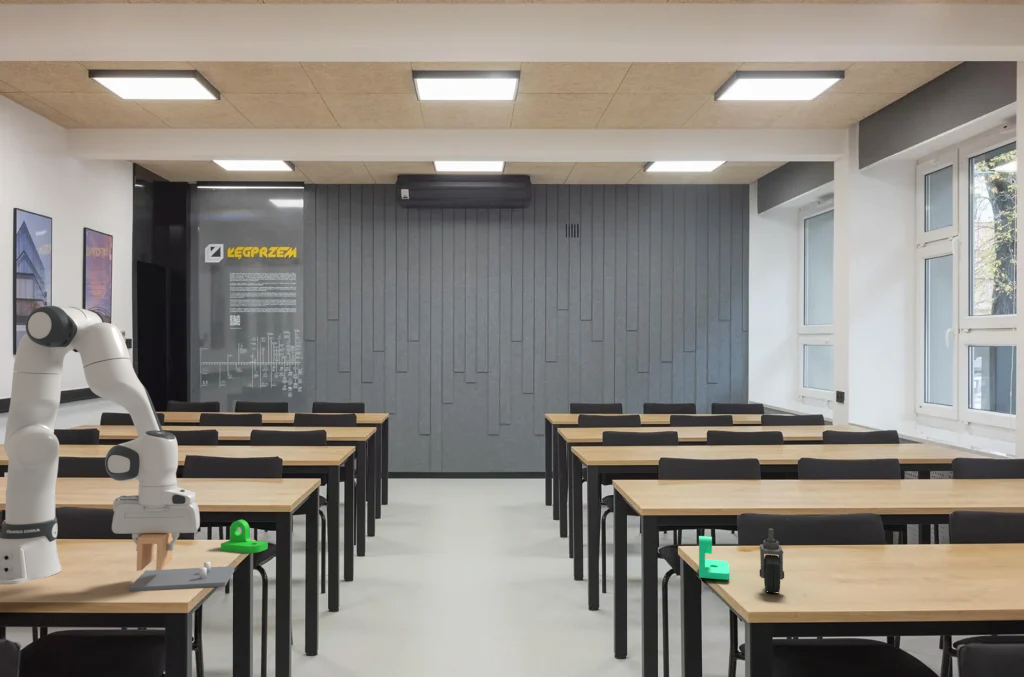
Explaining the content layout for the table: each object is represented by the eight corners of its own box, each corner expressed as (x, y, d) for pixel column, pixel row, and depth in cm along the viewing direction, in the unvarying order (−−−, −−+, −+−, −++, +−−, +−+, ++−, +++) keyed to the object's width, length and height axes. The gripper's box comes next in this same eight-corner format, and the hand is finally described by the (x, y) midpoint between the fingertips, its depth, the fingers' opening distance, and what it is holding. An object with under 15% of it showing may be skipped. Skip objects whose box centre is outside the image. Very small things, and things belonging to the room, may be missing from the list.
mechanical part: (220, 550, 222) (221, 523, 222) (234, 545, 227) (234, 518, 228) (254, 554, 218) (255, 526, 218) (267, 548, 224) (267, 522, 224)
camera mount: (729, 584, 192) (729, 543, 192) (698, 581, 194) (698, 541, 194) (728, 570, 204) (728, 532, 204) (699, 568, 206) (699, 530, 206)
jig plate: (129, 593, 182) (129, 577, 182) (145, 576, 196) (145, 561, 196) (224, 588, 186) (225, 572, 186) (234, 571, 200) (234, 556, 200)
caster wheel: (782, 587, 189) (782, 527, 189) (785, 599, 180) (785, 536, 180) (758, 585, 191) (758, 526, 191) (760, 597, 181) (761, 535, 182)
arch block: (136, 570, 184) (137, 537, 184) (148, 559, 193) (150, 528, 194) (160, 570, 184) (162, 537, 185) (172, 559, 194) (173, 528, 195)
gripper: (109, 497, 185) (106, 554, 184) (196, 497, 188) (194, 553, 188) (117, 493, 191) (115, 547, 190) (202, 493, 194) (200, 546, 194)
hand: (155, 550), depth 189 cm, fingers closed on arch block, 6 cm apart
